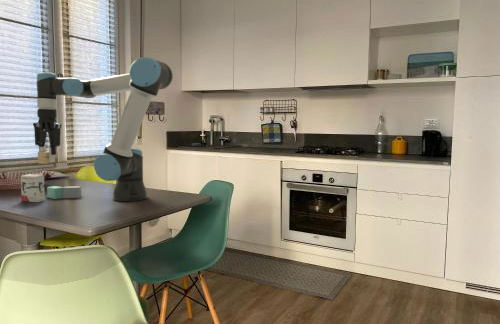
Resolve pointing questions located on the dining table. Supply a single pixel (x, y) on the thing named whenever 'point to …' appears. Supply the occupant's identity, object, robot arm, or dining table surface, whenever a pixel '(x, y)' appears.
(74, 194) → the brick grey
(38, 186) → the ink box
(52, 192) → the brick teal
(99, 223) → the dining table surface
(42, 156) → the brick oak
